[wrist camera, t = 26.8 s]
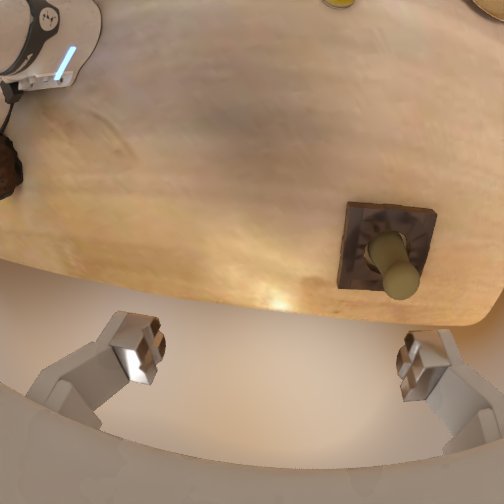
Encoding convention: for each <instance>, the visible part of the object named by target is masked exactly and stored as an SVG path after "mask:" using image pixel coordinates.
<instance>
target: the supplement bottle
mask: <svg viewBox="0 0 504 504" xmlns="http://www.w3.org/2000/svg"><path fill="white" fill-rule="evenodd" d="M323 1H324V2H325V3H326V4H327V5H329V6H331V7H333V8H338V9H343V8H347V7H349V6H351V5H352V4H353V3H354V1H355V0H323Z"/></svg>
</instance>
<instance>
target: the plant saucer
mask: <svg viewBox="0 0 504 504" xmlns="http://www.w3.org/2000/svg"><path fill="white" fill-rule="evenodd" d="M472 1H473V2H474V3H475V4H476V5H477V6H478V7H480V8H481V9H482V10H483V11H485V12H486V13H487V14H489V15H491V16H492V17H494V18H496V19H498V20H501V21H504V0H472Z"/></svg>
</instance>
